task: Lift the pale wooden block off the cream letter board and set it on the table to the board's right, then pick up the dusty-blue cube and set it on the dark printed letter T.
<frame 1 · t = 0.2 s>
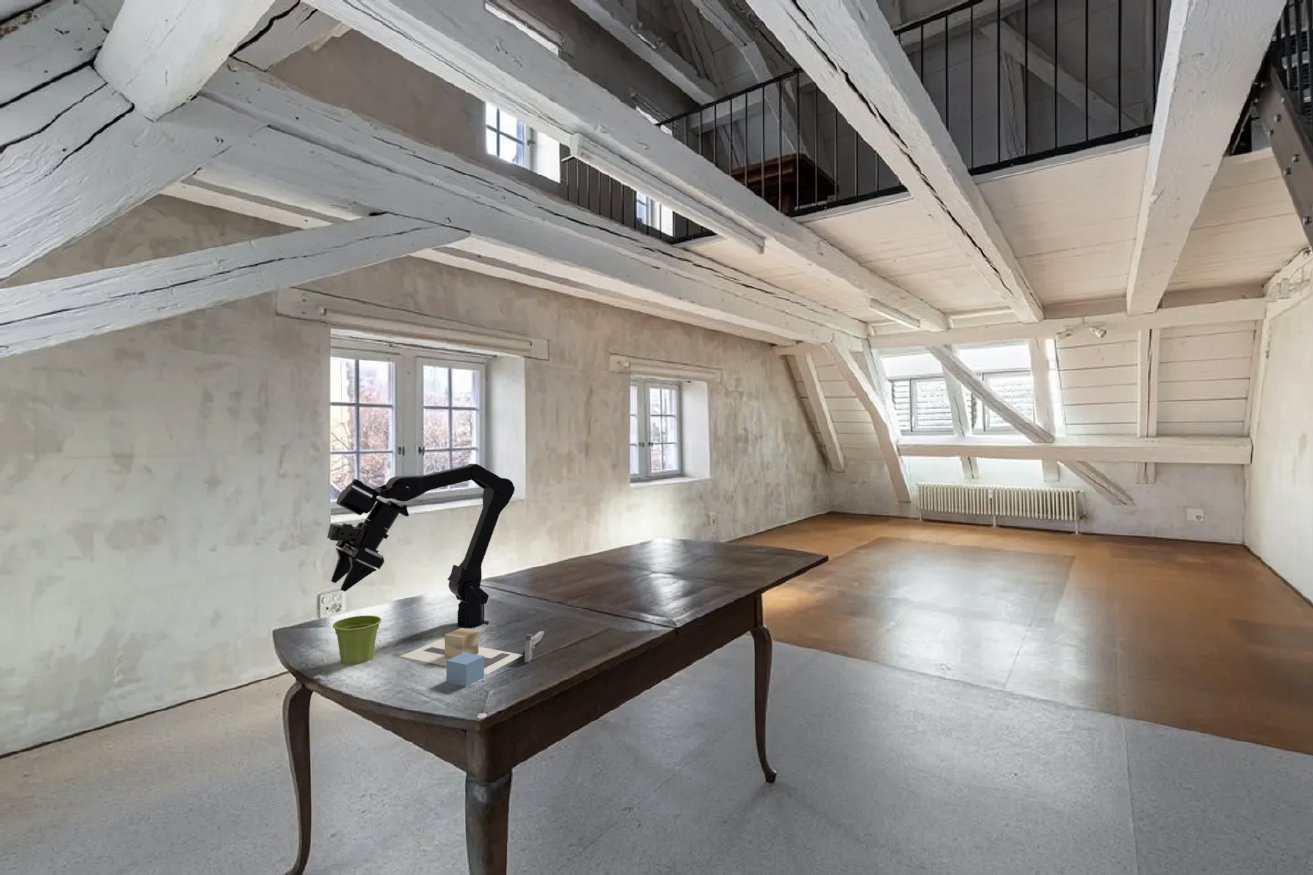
hand: (337, 586, 134), 15 cm above the table, tool tilted 30°, fingers open, 9 cm apart
wood block: (461, 655, 130), point 1 cm above the table, touching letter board
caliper: (535, 650, 137), on the table
plant pot: (357, 662, 128), on the table
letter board: (461, 658, 130), on the table
blue cube: (465, 683, 117), on the table
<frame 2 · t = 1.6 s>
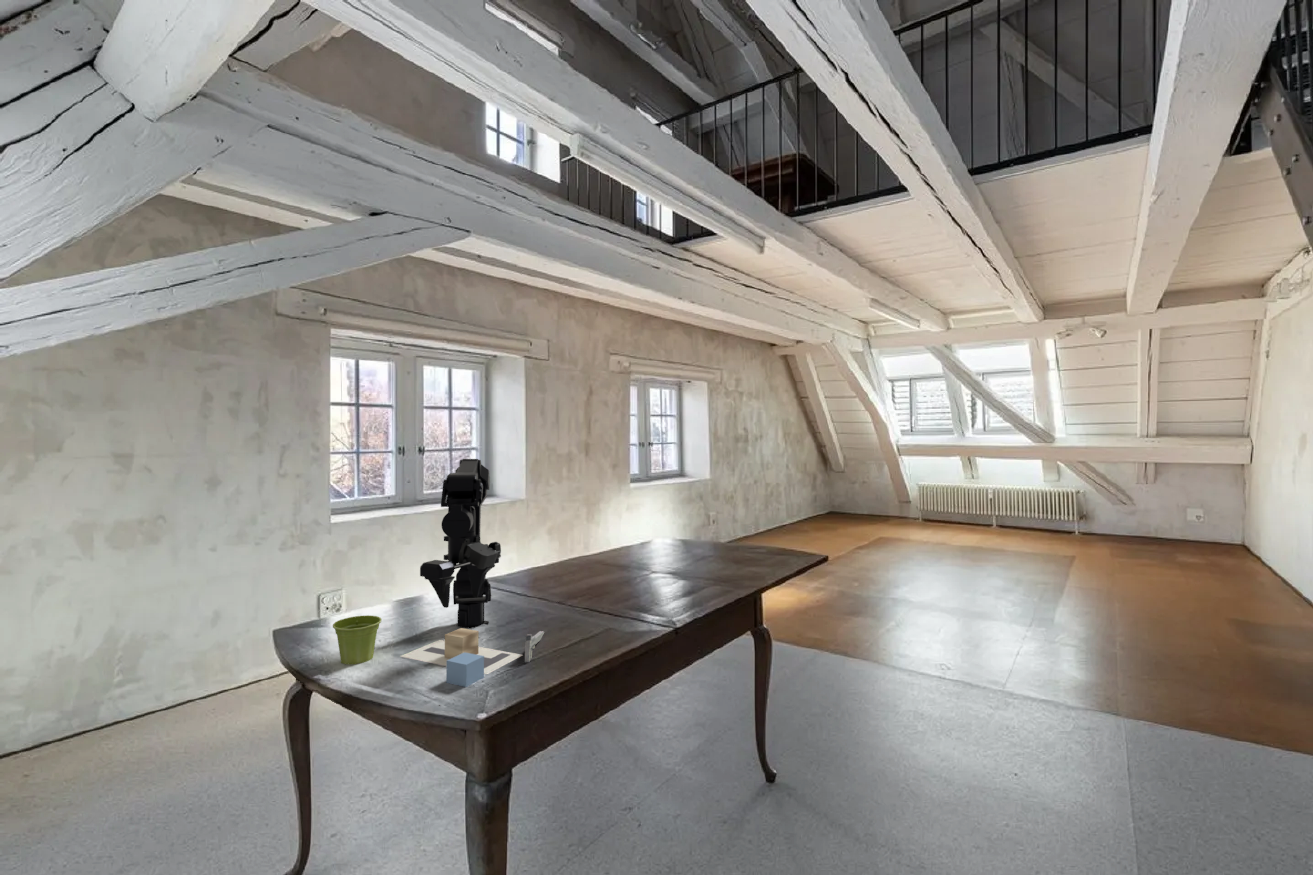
hand: (461, 602, 130), 12 cm above the table, tool pointing down, fingers open, 9 cm apart
nothing on the table moved.
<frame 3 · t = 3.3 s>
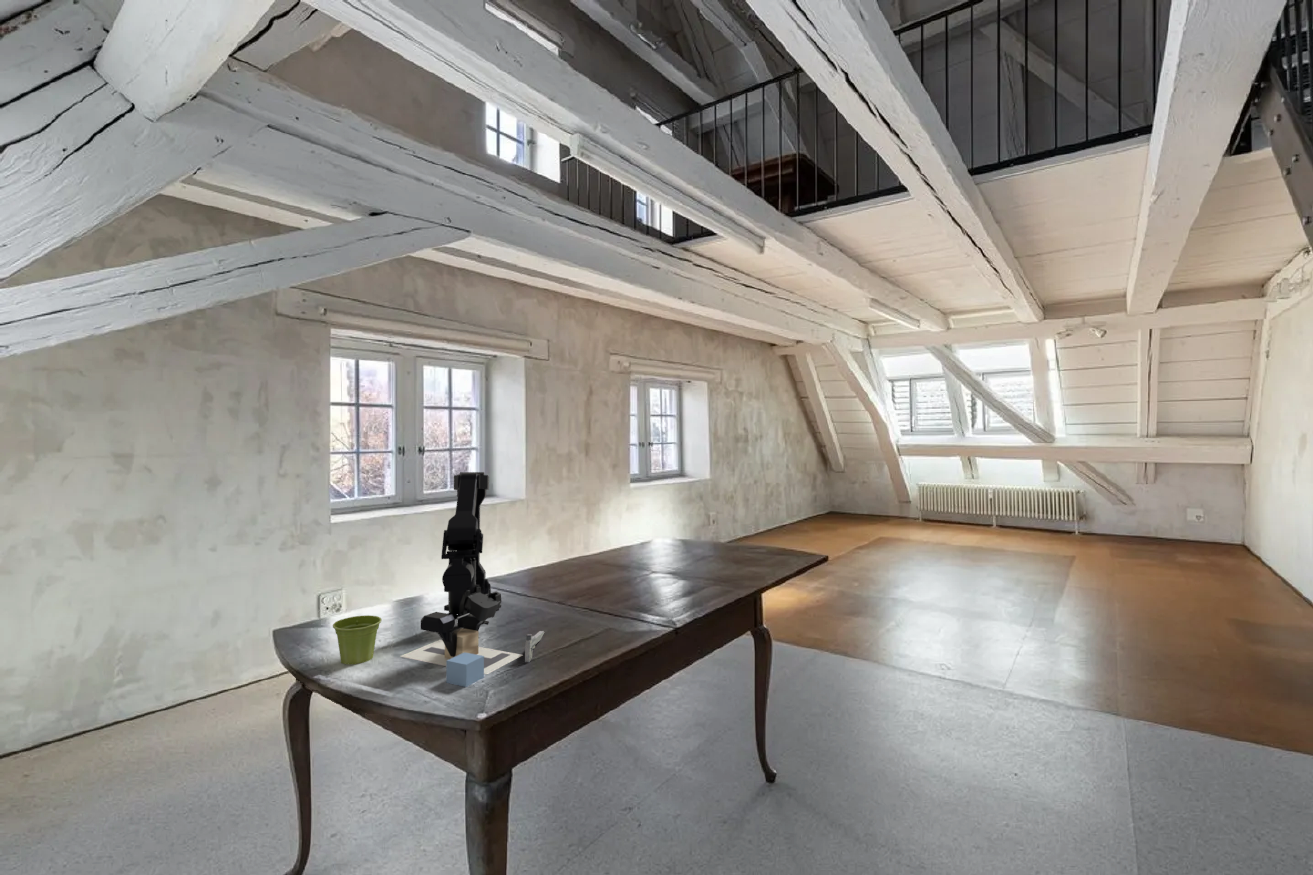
hand: (461, 652, 130), 1 cm above the table, tool pointing down, fingers closed on wood block, 5 cm apart
wood block: (461, 655, 130), point 1 cm above the table, touching gripper, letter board
everything else where it was.
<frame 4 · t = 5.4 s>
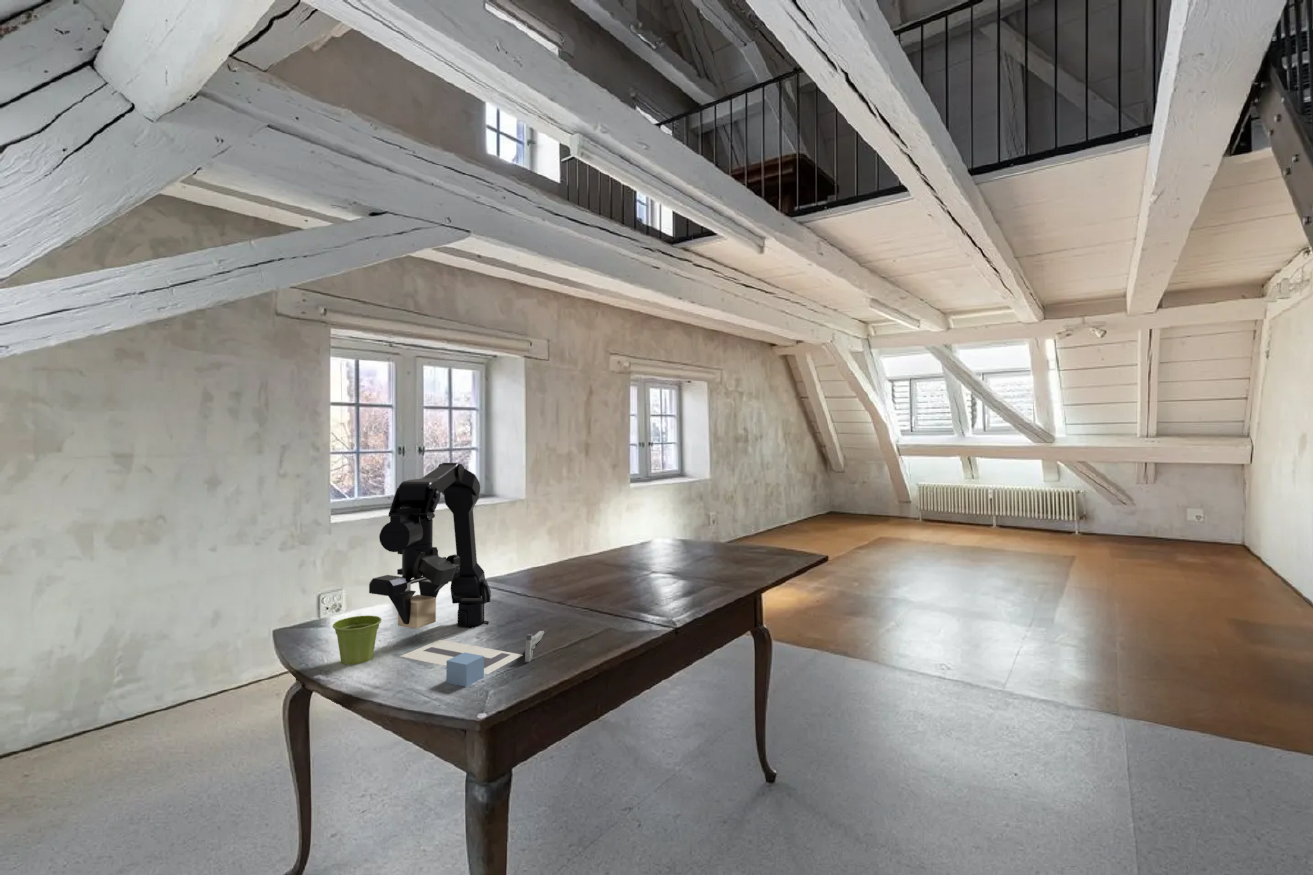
hand: (416, 620, 120), 12 cm above the table, tool pointing down, fingers closed on wood block, 5 cm apart
wood block: (417, 623, 120), point 11 cm above the table, touching gripper
everything else where it was.
when the fingers open (2 cm above the table, at t = 7.4 s): wood block drops 2 cm, on the table.
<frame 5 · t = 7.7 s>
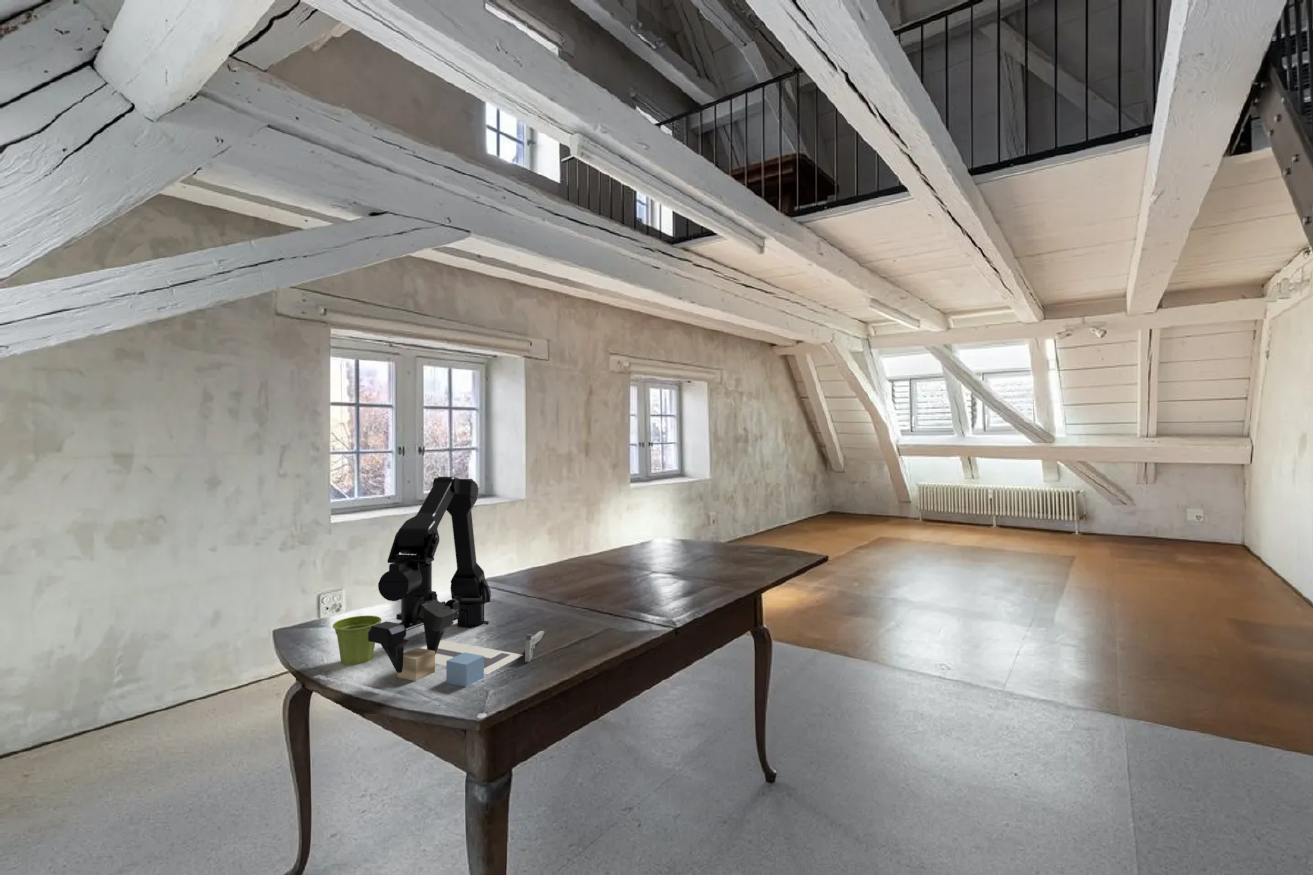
hand: (416, 664, 120), 2 cm above the table, tool pointing down, fingers open, 8 cm apart
wood block: (416, 677, 120), on the table
everything else where it was.
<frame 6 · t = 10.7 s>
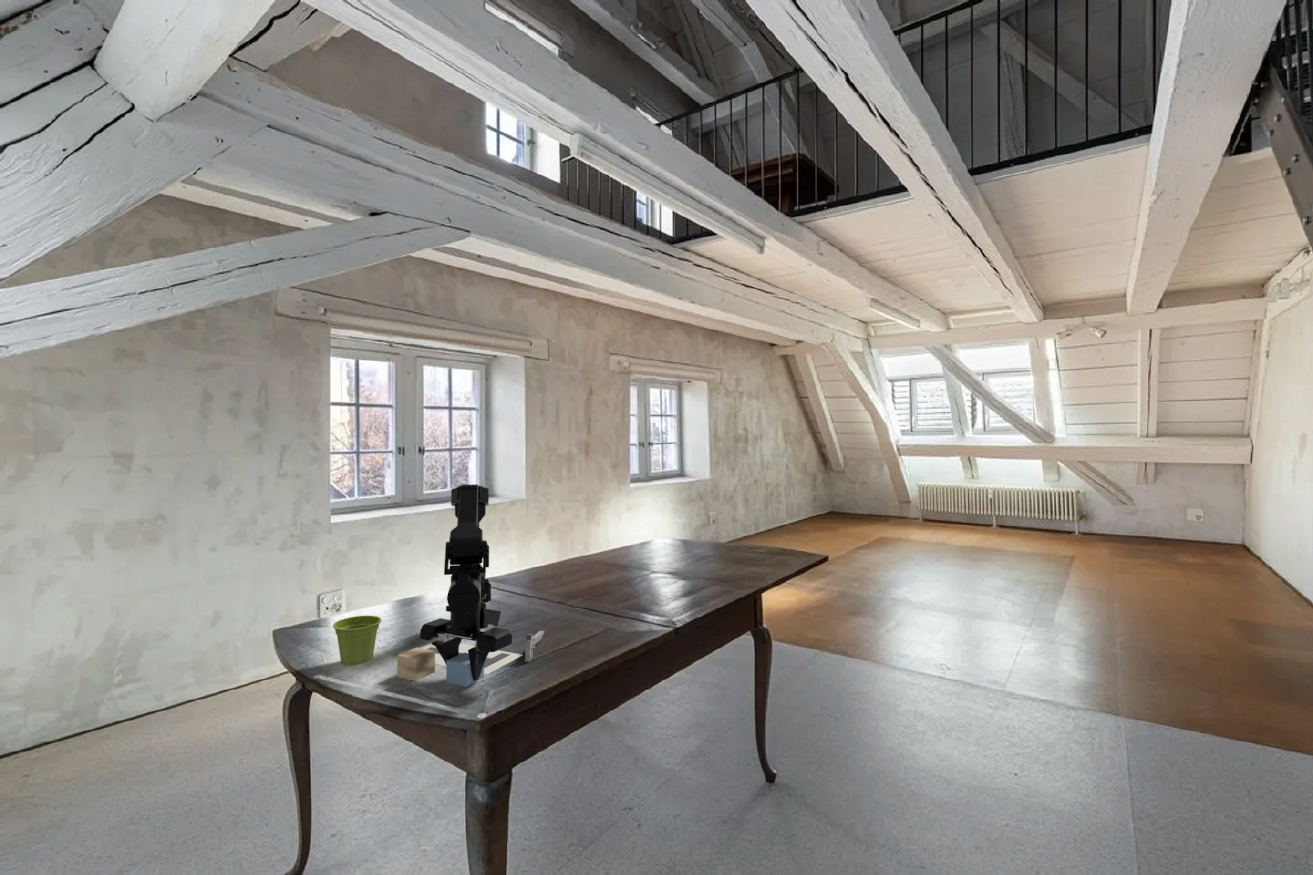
hand: (465, 677, 117), 1 cm above the table, tool pointing down, fingers closed on blue cube, 5 cm apart
blue cube: (465, 683, 117), on the table, touching gripper
everything else where it was.
when the fingers open (3 cm above the table, at t = 15.1 s): blue cube drops 1 cm, resting on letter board.
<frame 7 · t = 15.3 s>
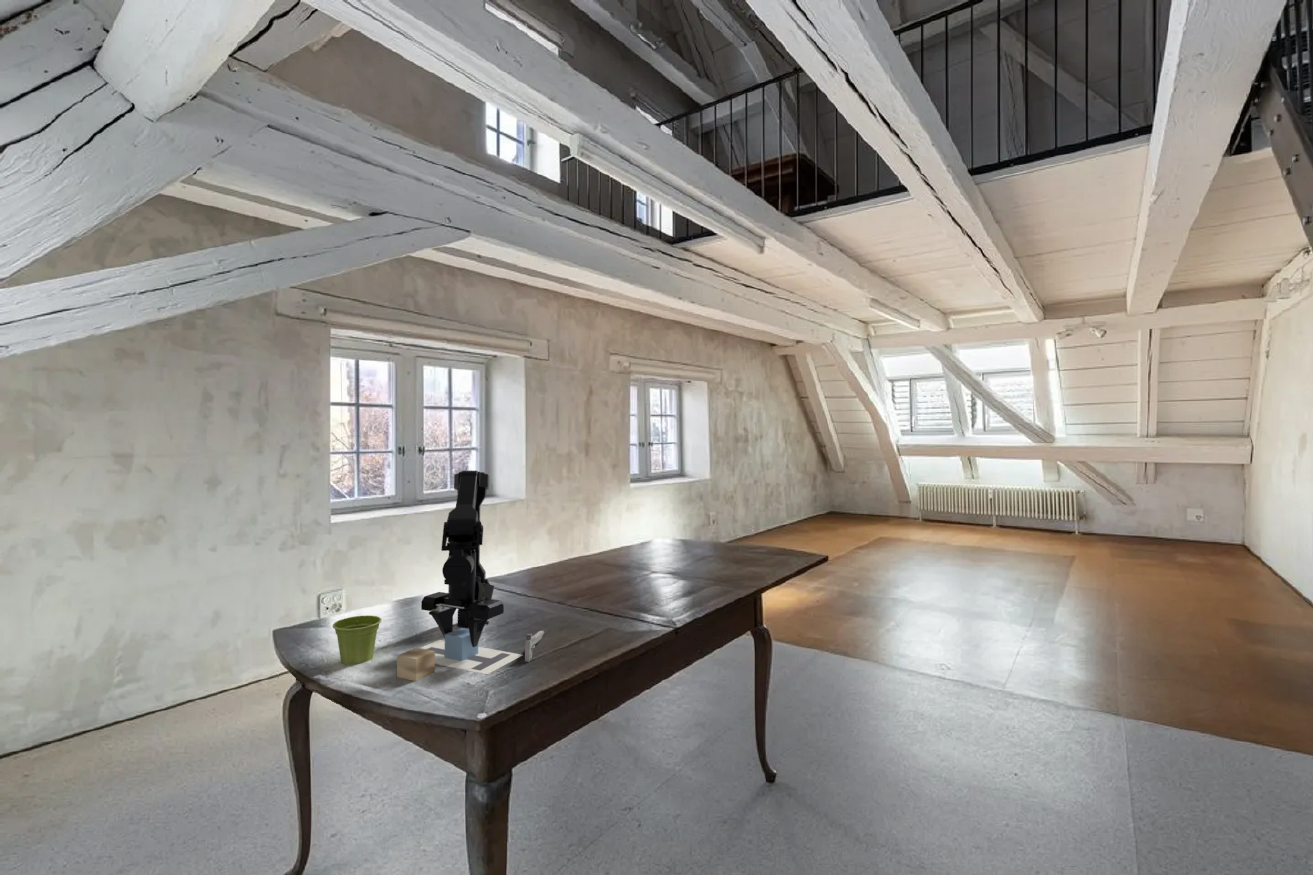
hand: (461, 644, 130), 3 cm above the table, tool pointing down, fingers open, 7 cm apart
blue cube: (461, 655, 130), point 1 cm above the table, touching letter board
everything else where it was.
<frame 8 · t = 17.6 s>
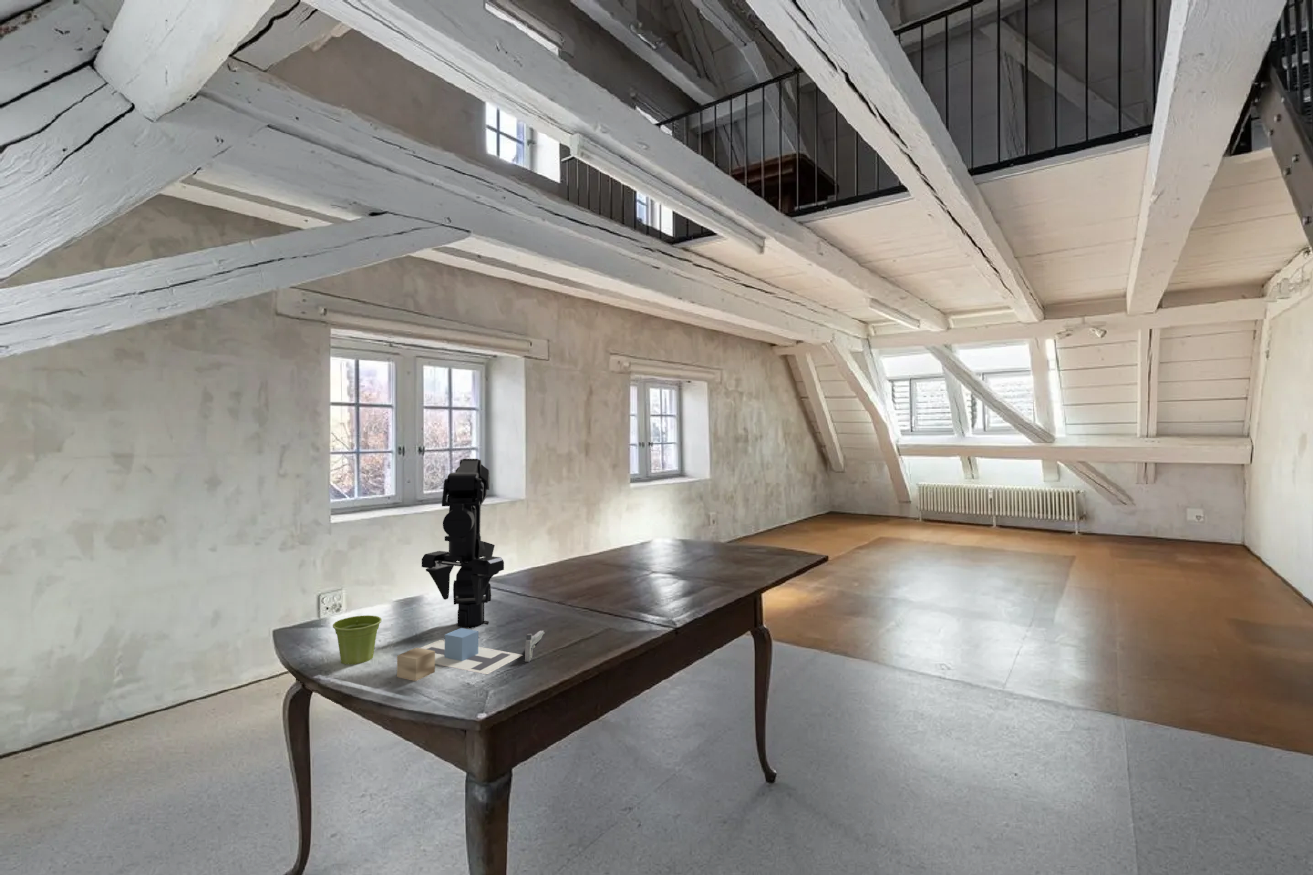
hand: (462, 601, 130), 12 cm above the table, tool pointing down, fingers open, 9 cm apart
nothing on the table moved.
at the end: blue cube 0.0 cm off-centre on the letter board, point 0.6 cm above the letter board's base; wood block inside the target area on the table beside the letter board (0.6 cm from its centre), on the table; the gripper is holding nothing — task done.
